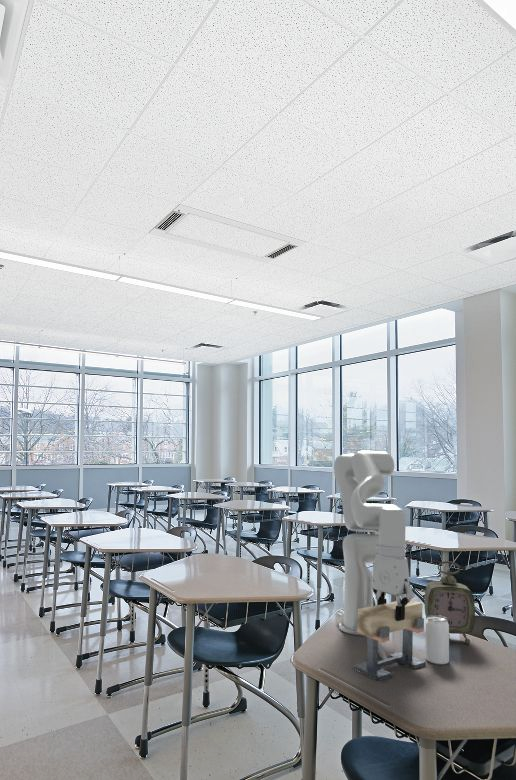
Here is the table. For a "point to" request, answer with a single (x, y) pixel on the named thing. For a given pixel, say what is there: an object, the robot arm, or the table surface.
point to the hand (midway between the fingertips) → (390, 616)
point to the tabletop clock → (451, 603)
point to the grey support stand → (404, 657)
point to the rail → (386, 617)
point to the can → (437, 640)
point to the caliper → (381, 652)
